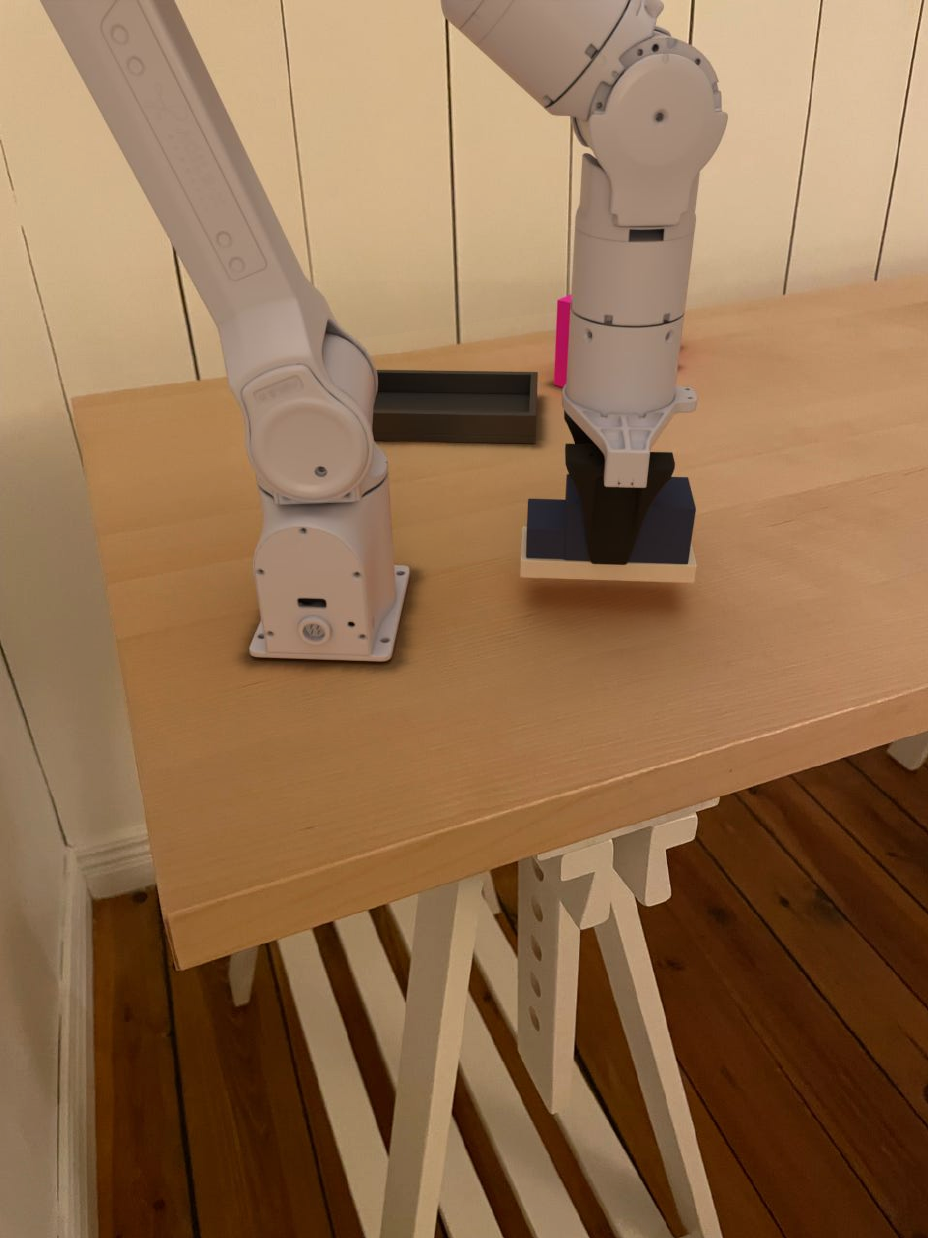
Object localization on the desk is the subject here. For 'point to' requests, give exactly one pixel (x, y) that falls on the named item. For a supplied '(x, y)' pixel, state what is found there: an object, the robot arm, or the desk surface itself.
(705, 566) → the desk surface
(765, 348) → the desk surface
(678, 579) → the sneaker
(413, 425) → the tray
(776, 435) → the desk surface
